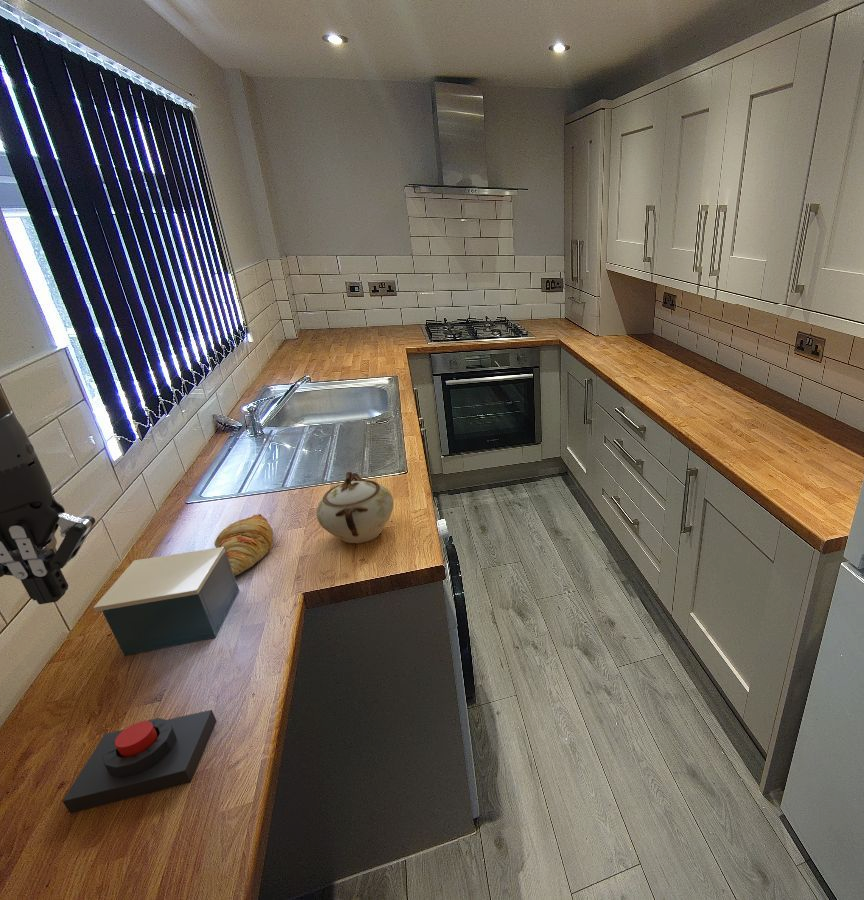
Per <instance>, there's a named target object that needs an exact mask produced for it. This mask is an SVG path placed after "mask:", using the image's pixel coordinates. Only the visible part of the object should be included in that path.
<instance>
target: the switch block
mask: <svg viewBox="0 0 864 900" xmlns="http://www.w3.org/2000/svg"><path fill="white" fill-rule="evenodd" d="M146 721H149V722H151V723H152V724H153V726H154V728H155V730H156V732H157V739H156V741H155V742H154V743H153V744H152V745H151V746H150V747H149V748H148V749H146V750H144V751H142V752H141V753H139V754H137V755H135V756H131V757H123V756H121V755H120V753H119V751H118V749H117V747H116V746H115V739H116V738H117V736H118V735H119V734H120V733H121V732H122V731H123V730H124V729H121V730H116V731H111V732H108V733H104V734H103V736H102V737H101V739H100V740H99V742H98V744H97V745H96V747H95V749H94V750H93V752H92V753H91V755H90V757H89V758H88V760H87V761H86V763H85V765H84V766H83V768H82V769H81V771H80V772H79V774H78V775H77V776H76V779H75V780H74V782H73V784H72V785H71V787H70V789H69V790H68V791H67V793H66V795H65V796H64V798H63V799H62V803H63V805H64V806H65V808H66V809H67V811H68V812H69V814H73V813H78V812H81V811H85V810H89V809H93V808H97V807H101V806H105V805H108V804H109V805H110V804H113V803H116V802H120V801H123V800H124V801H125V800H128V799H132V798H136V797H140V796H143V795H148V794H152V793H156V792H159V791H164V790H167V789H170V788H171V789H172V788H175V787H179V786H183V785H187V784H190V783H192V781H193V779H194V776H195V773H196V771H197V769H198V767H199V764H200V761H201V759H202V757H203V755H204V752H205V751H206V750H205V749H206V747H207V745H208V742H209V741H210V737H211V735H212V733H213V732H214V731H213V730H214V728H215V726H216V723H217V719H216V717H215V714H214V711H213V710H212V709H209V710H204V711H200V712H196V713H195V712H194V713H192V714H191V713H190V714H187V715H183V716H177V717H174V718H169V719H164V718H159V717H157V718H153V719H152V718H151V719H148V720H146Z"/></svg>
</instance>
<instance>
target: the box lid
mask: <svg viewBox="0 0 864 900" xmlns="http://www.w3.org/2000/svg"><path fill="white" fill-rule="evenodd" d="M224 551H225V549H224V547H219V548H216V547H214V548H207V549H201V550H194V551H186V552H180V553H175V554H174V553H173V554H168V555H161V556H154V557H147V558H141V559H135V560H133V561H132V562H131V563H130V565H128V567H127V568H126V569H125V570H124V571H123V572H122V574H121V575H120V576H119V577H118V578H117V579H116V580H115V582H114V583H113V584H112V585H111V587H110V588H109V589H108V590H107V591H106V592H105V593H104V594H103V596H101V598H100V599H99V600H98V602H97V603H96V604H95V605H94V606H93V607H92V608H93V610H94V612H96V613H97V612H102V611H103V610H108V609H114V608H120V607H126V606H131V605H137V604H143V603H149V602H155V601H161V600H166V599H172V598H178V597H184V596H190V595H196V594H199V592H200V590H201V589H202V587H203V585H204V584H205V582H206V580H207V579H208V577H209V576H210V574H211V572H212V571H213V569H214V567H215V566H216V564H217V563H218V561H219V559H220V558H221V556H222V554H223V553H224Z"/></svg>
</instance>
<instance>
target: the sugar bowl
mask: <svg viewBox="0 0 864 900" xmlns="http://www.w3.org/2000/svg"><path fill="white" fill-rule="evenodd" d="M393 509H394V498H393V496H392V494H391V492H390V491H389V490H388V488H386V487H385V486H384V485H382V484H380V483H378V482H377V481H374V480H370V479H363V478H361V477H360V475H359V473H357V472H352V471H348V472H346V474H345V480H344V481H343V483H341V484H338V485H335V486H334V487H333V486H332V487H331V488H330V489H328V491H326V492H325V493H324V494H323V496H322V498H321V499H320V501H319V502H318V505H317V507H316V519H317V522H318V523H319V525H320V527H322V529H323V530H325V531H326V532H328V533H329V534H331V535H333V537H336V538H338V539H340V540H341V541H342V542H344V543H346V544H351V543H356V544H363V543H367V542H370V541H373V540H375V539H376V538H377V537H378V536H380V535H381V534H382V532H383V530H384V528H385V526H386V525H387V523H388V521H389V519H390V518H391V515H392V512H393V511H394V510H393ZM380 533H381V534H380ZM379 534H380V535H379ZM362 542H363V543H362Z"/></svg>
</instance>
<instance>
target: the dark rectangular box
mask: <svg viewBox="0 0 864 900" xmlns="http://www.w3.org/2000/svg"><path fill="white" fill-rule="evenodd" d="M239 593H240V588H239V585H238V583H237V580H236V576H234V574H233V571H232V568H231V566H230V563H229V560H228V557H227V554H226V552H225V551H224V553H223V554H222V556H221V558H220V559H219V561H218V563H217V564H216V566H215V567H214V569H213V571H212V572H211V574H210V576H209V577H208V579H207V580H206V582H205V584H204V585H203V587H202V589H201V590H200V592H199V594H196V595H190V596H184V597H178V598H172V599H166V600H161V601H155V602H149V603H143V604H137V605H131V606H126V607H120V608H114V609H108V610H102V611H101V612H102V615H103V616H104V618H105V620H106V622H107V624H108V626H109V629H110V631H111V632H112V634H113V636H114V638H115V641H116V642H117V644H118V646H119V648H120V650H121V652H122V654H123V656H128V655H133V654H139V653H144V652H149V651H154V650H159V649H164V648H169V647H174V646H180V645H185V644H189V643H190V644H191V643H195V642H200V641H205V640H209V639H216V637H217V636H218V634H219V632H220V630H221V628H222V626H223V624H224V622H225V620H226V618H227V616H228V614H229V613H230V610H231V608H232V606H233V604H234V602H235V600H236V599H237V596H238V594H239Z"/></svg>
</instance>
